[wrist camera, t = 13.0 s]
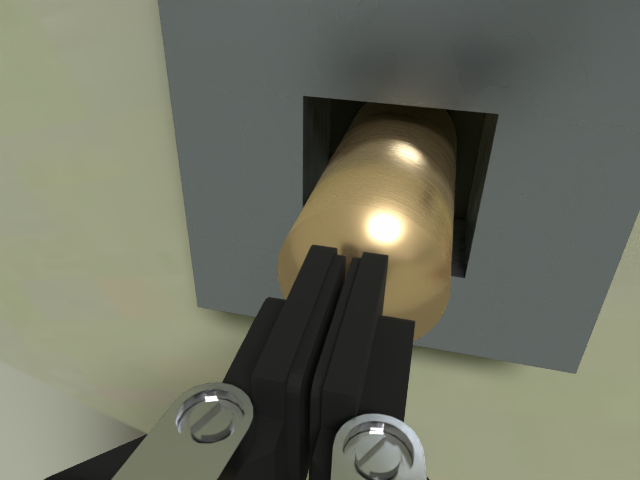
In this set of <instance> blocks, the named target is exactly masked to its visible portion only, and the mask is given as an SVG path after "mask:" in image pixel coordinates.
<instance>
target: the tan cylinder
mask: <svg viewBox="0 0 640 480" xmlns="http://www.w3.org/2000/svg"><path fill="white" fill-rule="evenodd" d="M456 155H457V135H456V130H455V127H454V124H453V122H452V120H451V118H450V116H449V114H448V113H447V112H446V110H445V109H439V108H429V107H418V106H407V105H396V104H386V103H375V102H367V103H366V104H365V105H364V106H363V107H362V108H361V109H360V110H359V112H358V113H357V114H356V116H355V118H354V120H353V121H352V123H351V125H350V127H349V128H348V130H347V132H346V134H345V135H344V137H343V139H342V141H341V142H340V144H339V146H338V148H337V149H336V151H335V153H334V155H333V156H332V158H331V160H330V162H329V164H328V165H327V167H326V169H325V171H324V172H323V174H322V176H321V178H320V179H319V181H318V183H317V185H316V186H315V188H314V190H313V192H312V193H311V195H310V197H309V199H308V200H307V202H306V204H305V206H304V207H303V209H302V211H301V213H300V214H299V216H298V218H297V220H296V222H295V223H294V225H293V227H292V229H291V230H290V232H289V234H288V236H287V237H286V239H285V241H284V243H283V245H282V247H281V250H280V253H279V257H278V264H277V273H278V281H279V285H280V289H281V291H282V294H283V296H284V298H285V300H286V299H287V297H288V295H289V293H290V290H291V288H292V286H293V284H294V282H295V280H296V277H297V275H298V273H299V271H300V269H301V267H302V264H303V262H304V260H305V258H306V256H307V253H308V251H309V249H310V247H311V245H320V246H327V247H334V248H337V250H338V255H344V256H346V268H345V279H346V276H347V273H348V270H349V267H350V263H351V260H352V258H353V257H358V258H362V254H363V252H370V253H377V254H384V255H389V258H388V269H387V278H386V287H385V296H384V305H383V314H382V315H383V316H389V317H395V318H401V319H407V320H413V321H415V329H414V338H413V341H415V340H417V339H419V338H420V337H422V336H424V335H425V334H426V333H428V332H429V331H430V330H431V329H432V328H433V327H434V326H435V325H436V324H437V323H438V321H439V320H440V318H441V317H442V316H443V314H444V311H445V309H446V307H447V304H448V300H449V296H450V284H451V263H452V241H453V220H454V198H455V177H456Z"/></svg>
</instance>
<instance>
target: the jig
mask: <svg viewBox="0 0 640 480" xmlns="http://www.w3.org/2000/svg"><path fill="white" fill-rule="evenodd" d="M158 5H159V12H160V20H161V28H162V36H163V43H164V51H165V59H166V66H167V74H168V82H169V89H170V97H171V105H172V113H173V120H174V128H175V136H176V143H177V151H178V159H179V167H180V174H181V182H182V190H183V197H184V205H185V213H186V220H187V228H188V236H189V244H190V251H191V259H192V267H193V274H194V282H195V290H196V297H197V305H198V307H202V308H207V309H213V310H219V311H224V312H230V313H236V314H241V315H247V316H253V317H256V316H257V314H258V312H259V310H260V308H261V306H262V304H263V302H264V301H265V299H266V298H268V297H273V298H279V299H285V298H284V296H283V294H282V291H281V289H280V285H279V281H278V273H277V264H278V257H279V253H280V250H281V247H282V245H283V243H284V241H285V239H286V237H287V236H288V234H289V232H290V230H291V229H292V227H293V225H294V223H295V222H296V220H297V218H298V216H299V214H300V213H301V211H302V209H303V207H304V206H305V204H306V202H307V200H308V199H309V197H310V195H311V193H312V192H313V190H314V188H315V186H316V185H317V183H318V181H319V179H320V178H321V176H322V174H323V172H324V171H325V169H326V167H327V165H328V164H329V150H330V120H331V98H332V99H343V100H354V101H364V102H375V103H386V104H396V105H407V106H418V107H429V108H439V109H450V110H461V111H472V112H482V113H486V116H485V121H484V127H483V132H482V137H481V142H480V147H479V153H478V158H477V163H476V168H475V173H474V178H473V184H472V189H471V194H470V199H469V204H468V209H467V215H466V220H465V219H457V218H454V220H453V241H452V263H451V284H450V296H449V300H448V304H447V307H446V309H445V311H444V314H443V316H442V317H441V318H440V320H439V321H438V323H437V324H436V325H435V326H434V327H433V328H432V329H431V330H430V331H429V332H428V333H426V334H425V335H424V336H422V337H420V338H419V339H417V340H415V341H413V345H416V346H422V347H427V348H433V349H439V350H444V351H450V352H456V353H461V354H467V355H473V356H478V357H484V358H489V359H495V360H501V361H506V362H512V363H518V364H523V365H529V366H535V367H540V368H546V369H552V370H557V371H563V372H568V373H574V374H576V372H577V369H578V366H579V364H580V361H581V359H582V356H583V354H584V351H585V349H586V346H587V343H588V341H589V338H590V336H591V333H592V331H593V328H594V325H595V323H596V320H597V318H598V315H599V313H600V310H601V308H602V305H603V302H604V300H605V297H606V295H607V292H608V290H609V287H610V284H611V282H612V279H613V277H614V274H615V272H616V269H617V267H618V264H619V261H620V259H621V256H622V254H623V251H624V249H625V246H626V243H627V241H628V238H629V236H630V233H631V231H632V228H633V226H634V223H635V220H636V218H637V215H638V213H639V210H640V0H158Z"/></svg>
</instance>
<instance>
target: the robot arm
mask: <svg viewBox="0 0 640 480" xmlns="http://www.w3.org/2000/svg"><path fill="white" fill-rule="evenodd" d="M388 258H389V255H384V254H377V253H370V252H363V254H362V258H358V257H353V258H352V260H351V263H350V267H349V270H348V273H347V276H346V279H345V268H346V256H344V255H338V250H337V248H334V247H327V246H320V245H311V247H310V249H309V251H308V253H307V256H306V258H305V260H304V262H303V264H302V267H301V269H300V271H299V273H298V275H297V277H296V280H295V282H294V284H293V286H292V288H291V290H290V293H289V295H288V297H287V299H286V300H285V299H279V298H273V297H268V298H266V299H265V301H264V302H263V304H262V306H261V308H260V310H259V312H258V314H257V316H256V318H255V320H254V322H253V324H252V326H251V328H250V329H249V331H248V333H247V335H246V337H245V339H244V341H243V343H242V345H241V347H240V349H239V351H238V353H237V355H236V357H235V359H234V360H233V362H232V364H231V366H230V368H229V370H228V372H227V374H226V376H225V378H224V380H223V382H222V383H206V384H203V385H199V386H196V387H193V388H192V389H190V390H188V391H186V392H184V393H183V394H182V395H181V396H180V397H179V398H178V399H177V400H175V401H174V403H173V404H172V405H171V406H170V407H169V409H168V410H167V411H166V412H165V414H164V415H163V416H162V417H161V419H160V420H159V421H158V422H157V424H156V425H155V426H154V427H153V429H152V430H151V431H150V432H149V434H146V435H144V436H142V437H140V438H137V439H135V440H133V441H130V442H128V443H126V444H124V445H121V446H119V447H117V448H114V449H112V450H110V451H107V452H105V453H103V454H100V455H98V456H96V457H94V458H91V459H89V460H87V461H84V462H82V463H80V464H77V465H75V466H73V467H71V468H68V469H66V470H64V471H62V472H59V473H57V474H55V475H52V476H50V477H48V478H46V479H44V480H306V478H307V474H308V470H309V480H429V479H428V477H427V476H426V466H425V457H424V451H423V448H422V444H421V441H420V440H419V438H418V437H417V435H416V434H415V432H414V431H413V430H412V429H411V428H410V427H408V426H407V425H406V424H405V423H404V416H405V407H406V398H407V390H408V381H409V373H410V364H411V355H412V347H413V338H414V329H415V321H413V320H407V319H401V318H395V317H389V316H383V315H382V314H383V305H384V296H385V287H386V278H387V269H388Z"/></svg>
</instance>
